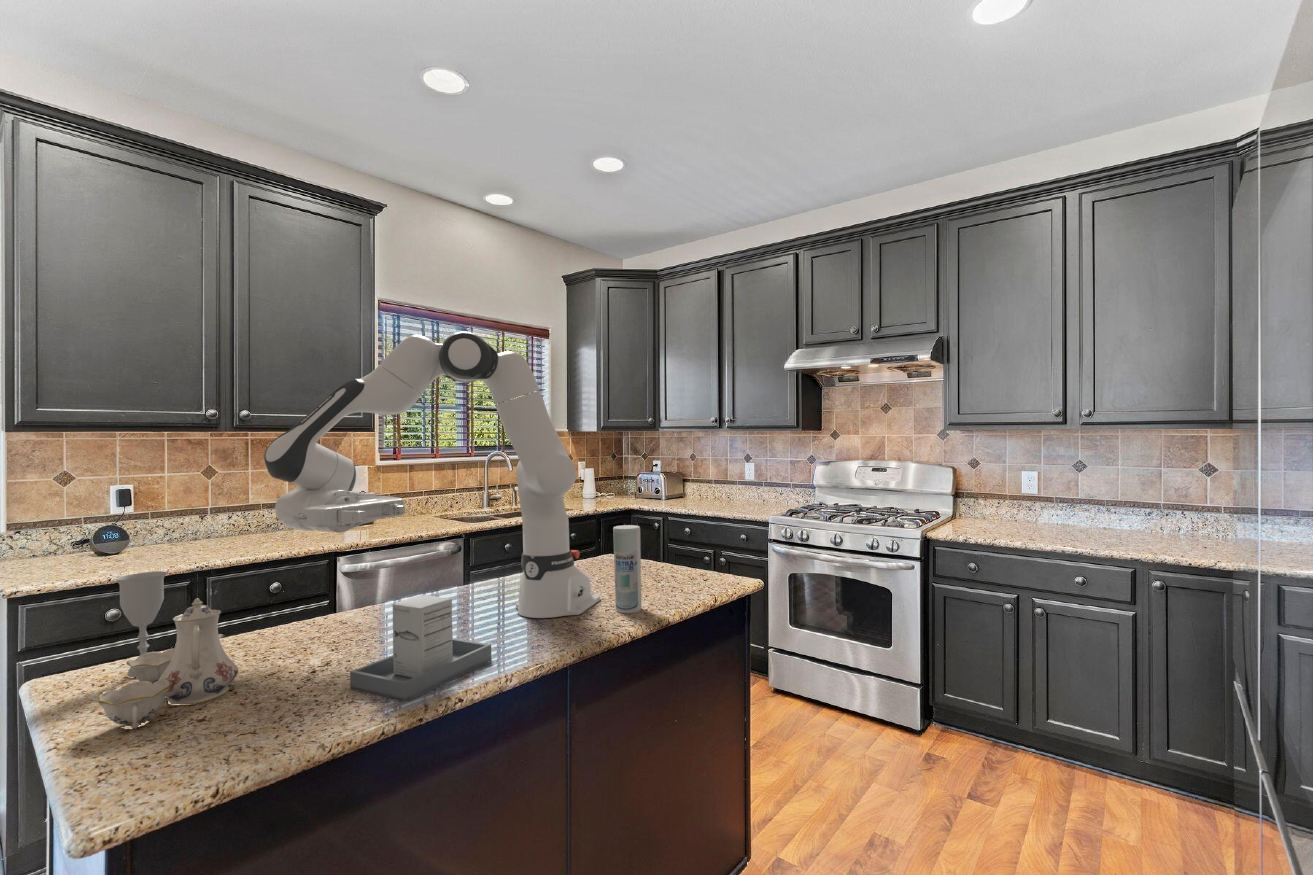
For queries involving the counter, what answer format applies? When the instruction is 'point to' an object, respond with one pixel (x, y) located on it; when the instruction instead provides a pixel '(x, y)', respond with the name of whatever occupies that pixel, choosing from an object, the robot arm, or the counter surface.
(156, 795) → the counter surface
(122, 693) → the chinaware
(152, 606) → the chalice
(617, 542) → the spray can
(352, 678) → the tray
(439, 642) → the supplement box
